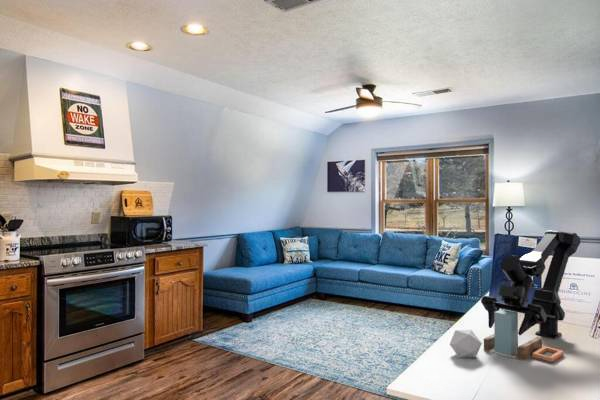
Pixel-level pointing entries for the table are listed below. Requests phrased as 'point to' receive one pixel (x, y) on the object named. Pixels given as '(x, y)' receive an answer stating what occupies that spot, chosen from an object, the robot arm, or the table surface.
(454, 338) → the die
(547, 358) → the frame
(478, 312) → the table surface
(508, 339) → the block
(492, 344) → the channel
